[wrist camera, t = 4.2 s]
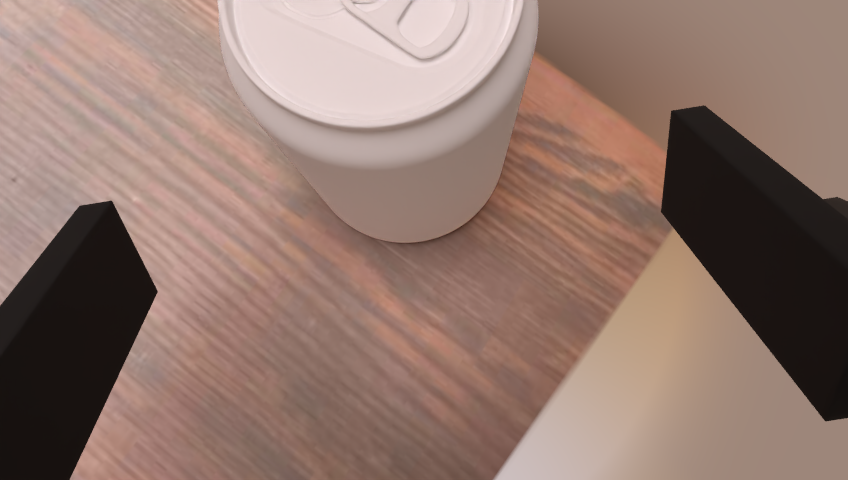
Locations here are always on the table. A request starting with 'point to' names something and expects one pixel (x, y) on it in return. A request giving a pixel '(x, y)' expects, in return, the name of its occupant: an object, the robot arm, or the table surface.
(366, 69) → the beverage can
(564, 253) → the table surface
